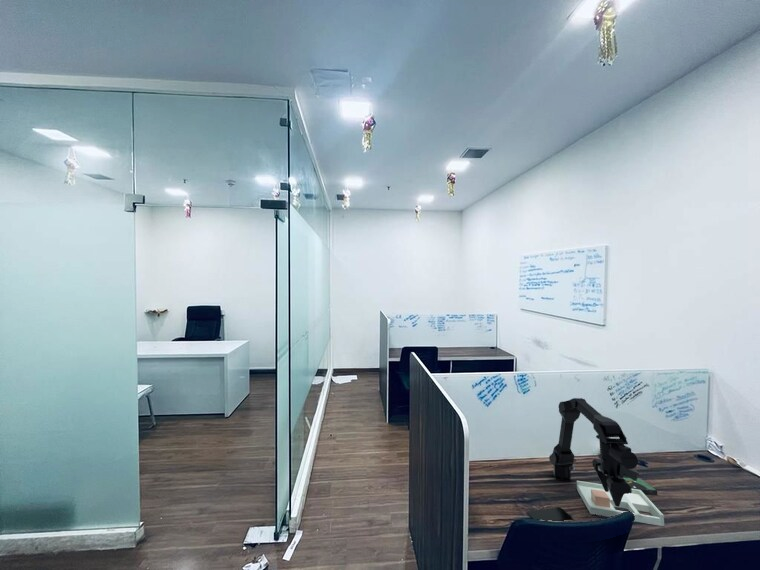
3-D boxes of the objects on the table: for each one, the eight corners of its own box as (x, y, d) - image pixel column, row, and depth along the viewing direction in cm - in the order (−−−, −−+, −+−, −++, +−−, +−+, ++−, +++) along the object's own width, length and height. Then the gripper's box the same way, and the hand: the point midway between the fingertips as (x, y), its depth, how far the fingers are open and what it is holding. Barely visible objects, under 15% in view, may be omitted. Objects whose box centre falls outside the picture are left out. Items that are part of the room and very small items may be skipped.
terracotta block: (595, 505, 124) (595, 496, 124) (591, 498, 128) (590, 489, 129) (610, 507, 122) (609, 498, 122) (605, 500, 127) (604, 491, 127)
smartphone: (559, 508, 126) (525, 512, 123) (559, 506, 126) (525, 510, 123) (575, 521, 118) (538, 526, 116) (575, 519, 118) (538, 524, 116)
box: (590, 513, 122) (590, 503, 123) (577, 489, 139) (576, 480, 139) (664, 526, 115) (663, 515, 116) (641, 499, 131) (640, 489, 132)
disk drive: (622, 495, 135) (658, 496, 134) (622, 488, 136) (657, 489, 135) (607, 482, 146) (640, 483, 145) (606, 476, 146) (639, 476, 145)
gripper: (648, 470, 105) (651, 519, 103) (623, 447, 122) (625, 488, 121) (610, 466, 108) (612, 512, 107) (591, 443, 126) (593, 483, 124)
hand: (611, 498), depth 115 cm, fingers open, 9 cm apart
